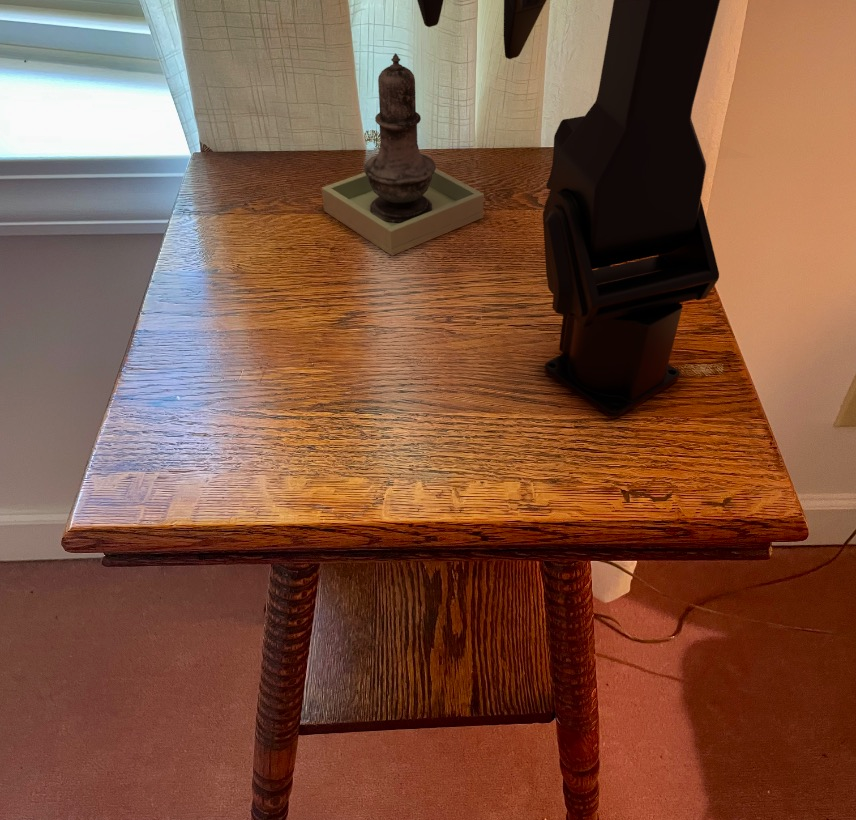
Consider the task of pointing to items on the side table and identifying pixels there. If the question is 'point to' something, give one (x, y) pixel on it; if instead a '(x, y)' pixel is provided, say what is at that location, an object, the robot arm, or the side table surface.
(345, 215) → the tray
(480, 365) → the side table surface
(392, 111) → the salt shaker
